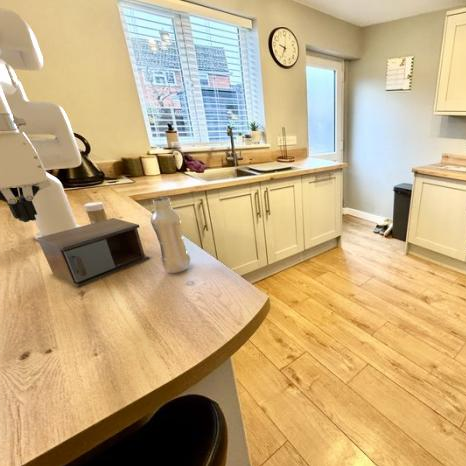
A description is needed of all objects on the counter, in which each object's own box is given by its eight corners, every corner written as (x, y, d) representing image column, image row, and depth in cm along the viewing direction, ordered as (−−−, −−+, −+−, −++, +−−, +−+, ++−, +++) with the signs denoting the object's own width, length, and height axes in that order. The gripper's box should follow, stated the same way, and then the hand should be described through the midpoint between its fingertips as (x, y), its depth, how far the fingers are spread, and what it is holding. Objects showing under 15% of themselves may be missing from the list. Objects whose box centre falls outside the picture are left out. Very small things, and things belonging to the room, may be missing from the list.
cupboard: (53, 274, 75) (36, 237, 71) (123, 249, 90) (113, 217, 86) (78, 287, 70) (62, 247, 66) (149, 258, 85) (139, 224, 80)
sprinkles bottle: (114, 243, 94) (101, 204, 88) (96, 247, 91) (82, 206, 86) (115, 239, 97) (103, 200, 92) (98, 241, 95) (84, 202, 90)
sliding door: (75, 281, 71) (63, 251, 67) (113, 267, 78) (104, 238, 74) (83, 285, 69) (70, 254, 66) (121, 269, 76) (111, 241, 73)
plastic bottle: (197, 266, 81) (182, 197, 73) (177, 277, 75) (158, 204, 67) (180, 262, 83) (163, 194, 75) (158, 273, 77) (138, 201, 69)
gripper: (32, 123, 60) (64, 208, 67) (-92, 125, 47) (-36, 228, 54) (49, 124, 57) (81, 212, 64) (-78, 126, 44) (-21, 236, 51)
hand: (27, 219), depth 59 cm, fingers closed
